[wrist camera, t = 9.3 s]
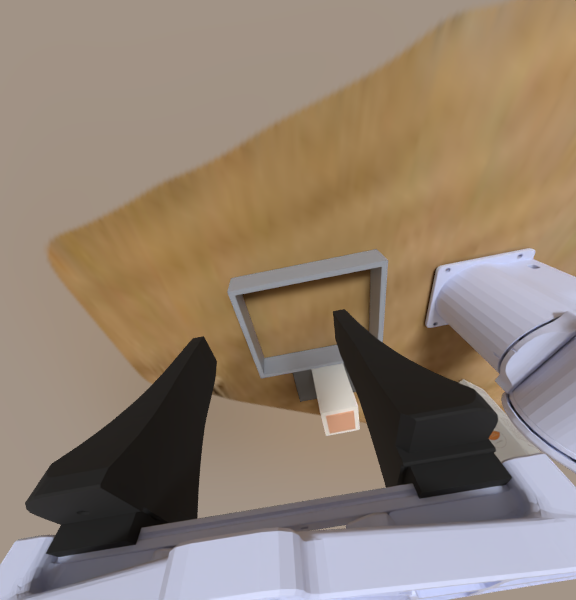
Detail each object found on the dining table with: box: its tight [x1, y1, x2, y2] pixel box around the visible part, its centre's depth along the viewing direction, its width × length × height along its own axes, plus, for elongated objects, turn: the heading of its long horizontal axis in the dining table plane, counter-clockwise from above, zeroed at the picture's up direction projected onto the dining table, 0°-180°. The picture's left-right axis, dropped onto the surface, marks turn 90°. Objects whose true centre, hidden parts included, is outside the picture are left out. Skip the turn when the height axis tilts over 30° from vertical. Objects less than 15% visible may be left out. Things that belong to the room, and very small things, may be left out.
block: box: [311, 363, 360, 436], centre depth 28 cm, size 4×5×6 cm
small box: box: [458, 379, 541, 462], centre depth 32 cm, size 8×6×10 cm
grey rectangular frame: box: [228, 249, 388, 378], centre depth 24 cm, size 14×12×2 cm
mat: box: [293, 363, 356, 402], centre depth 31 cm, size 9×8×1 cm
